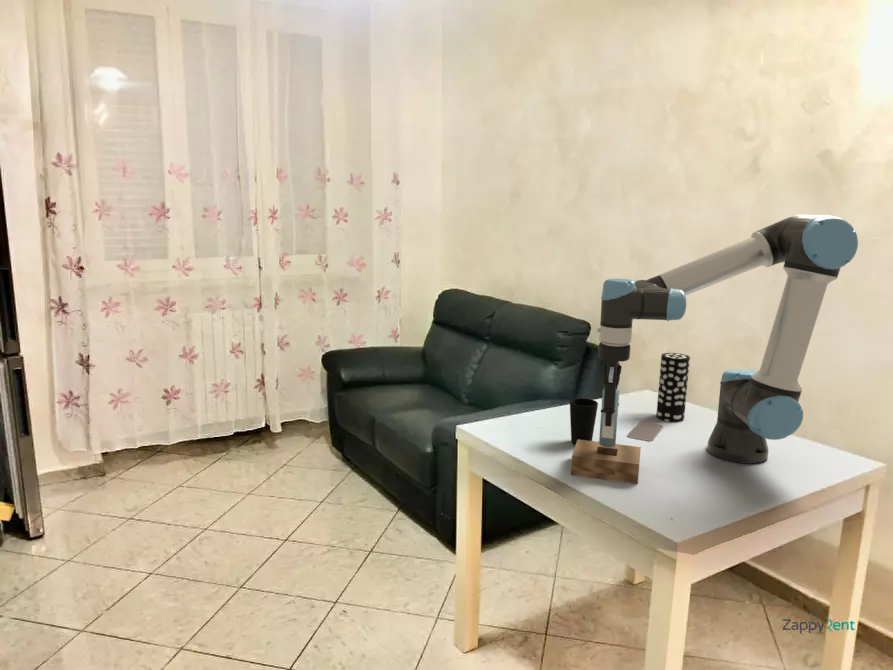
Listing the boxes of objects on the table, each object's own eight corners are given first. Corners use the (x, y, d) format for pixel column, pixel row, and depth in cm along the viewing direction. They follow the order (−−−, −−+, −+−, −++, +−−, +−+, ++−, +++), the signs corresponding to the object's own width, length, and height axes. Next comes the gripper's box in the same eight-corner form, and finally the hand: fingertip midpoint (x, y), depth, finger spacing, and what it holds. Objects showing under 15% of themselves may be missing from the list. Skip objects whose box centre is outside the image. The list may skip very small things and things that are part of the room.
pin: (615, 442, 167) (619, 388, 164) (614, 447, 164) (618, 393, 161) (599, 440, 168) (603, 387, 166) (598, 445, 165) (602, 391, 162)
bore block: (639, 465, 171) (640, 447, 170) (637, 484, 159) (639, 464, 158) (576, 457, 175) (577, 439, 174) (570, 474, 164) (571, 455, 163)
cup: (595, 449, 181) (598, 407, 179) (567, 446, 183) (569, 405, 180) (595, 439, 189) (597, 399, 186) (567, 437, 190) (570, 397, 188)
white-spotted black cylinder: (686, 416, 210) (692, 355, 206) (680, 424, 203) (686, 360, 199) (660, 411, 214) (665, 351, 210) (653, 418, 207) (658, 356, 203)
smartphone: (626, 435, 191) (640, 420, 204) (625, 438, 191) (639, 423, 204) (652, 440, 187) (664, 425, 200) (651, 443, 188) (664, 427, 200)
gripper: (601, 335, 170) (595, 421, 174) (595, 348, 154) (589, 444, 159) (632, 337, 168) (625, 425, 172) (629, 351, 152) (621, 448, 156)
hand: (608, 434), depth 165 cm, fingers closed on pin, 4 cm apart
